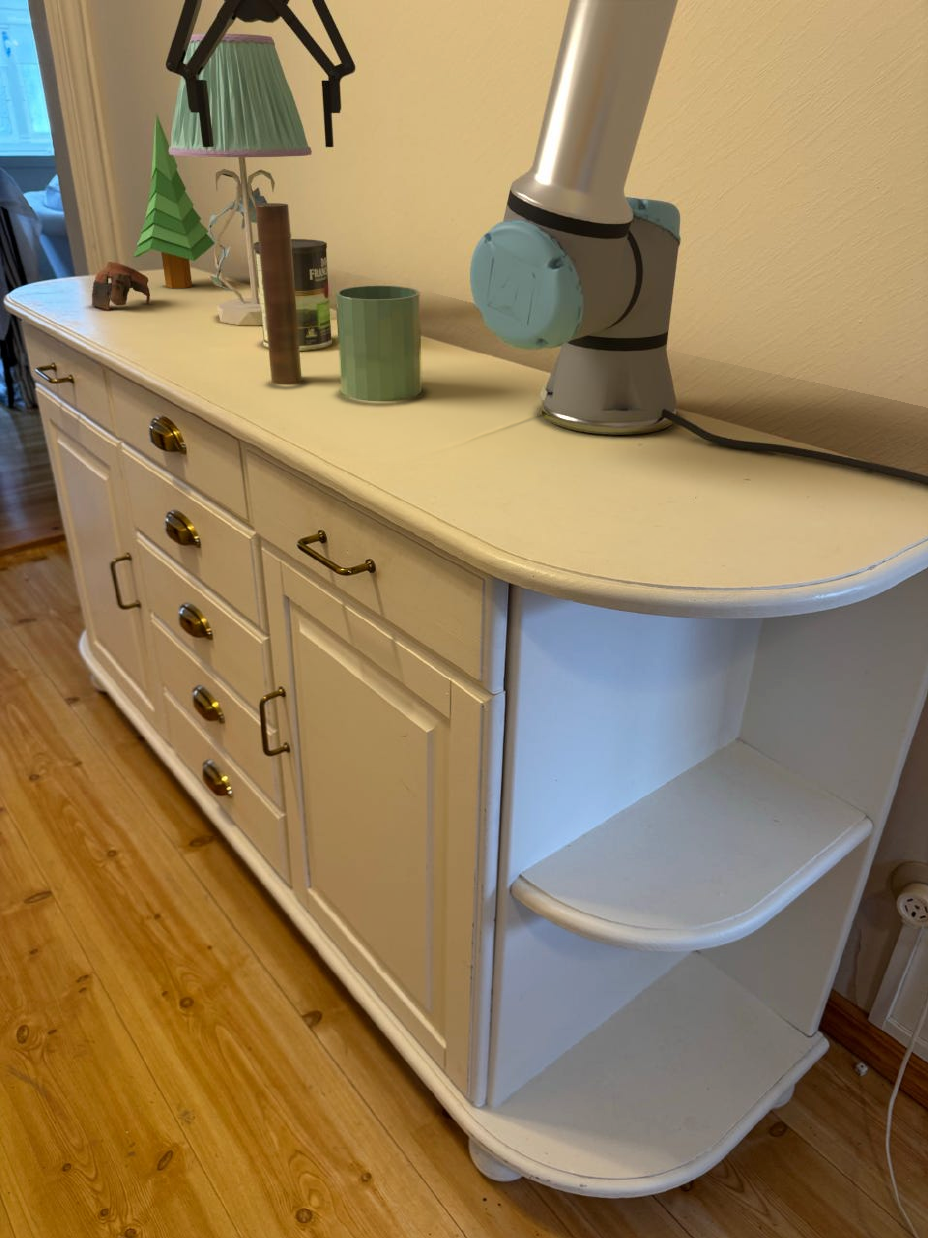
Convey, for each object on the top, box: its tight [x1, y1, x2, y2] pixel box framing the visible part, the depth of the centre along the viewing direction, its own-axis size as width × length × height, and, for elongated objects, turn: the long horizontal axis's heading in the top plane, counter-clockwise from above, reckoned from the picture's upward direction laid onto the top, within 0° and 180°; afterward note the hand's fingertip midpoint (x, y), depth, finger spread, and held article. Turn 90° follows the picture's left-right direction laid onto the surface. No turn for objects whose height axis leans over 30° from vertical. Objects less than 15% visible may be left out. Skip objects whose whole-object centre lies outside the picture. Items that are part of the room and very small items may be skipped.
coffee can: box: [253, 238, 333, 352], centre depth 135 cm, size 10×10×14 cm
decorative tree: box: [132, 112, 216, 289], centre depth 174 cm, size 14×16×30 cm
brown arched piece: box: [91, 261, 151, 311], centre depth 161 cm, size 12×10×8 cm
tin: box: [335, 284, 423, 402], centre depth 112 cm, size 10×10×12 cm
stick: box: [255, 202, 303, 385], centre depth 113 cm, size 4×4×21 cm
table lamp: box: [169, 33, 313, 326], centre depth 145 cm, size 22×22×40 cm
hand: (269, 147), depth 105 cm, fingers open, 13 cm apart
